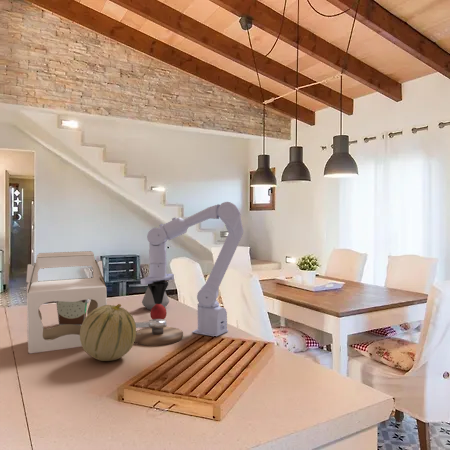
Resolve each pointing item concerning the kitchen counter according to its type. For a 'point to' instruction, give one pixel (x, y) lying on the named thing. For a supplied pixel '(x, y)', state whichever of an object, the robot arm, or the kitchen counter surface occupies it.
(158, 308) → the onion
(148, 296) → the coffee pot
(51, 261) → the gable box
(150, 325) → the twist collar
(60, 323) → the food container
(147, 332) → the base
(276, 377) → the kitchen counter surface
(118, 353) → the cantaloupe
